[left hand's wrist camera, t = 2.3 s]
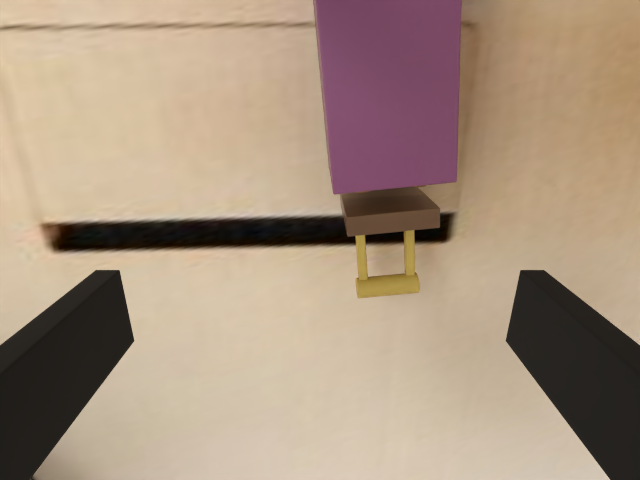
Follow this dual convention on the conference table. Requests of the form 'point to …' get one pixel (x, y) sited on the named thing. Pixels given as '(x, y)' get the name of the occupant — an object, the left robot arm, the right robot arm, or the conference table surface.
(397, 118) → the cabinet
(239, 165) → the conference table surface
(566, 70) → the conference table surface
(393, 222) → the drawer
